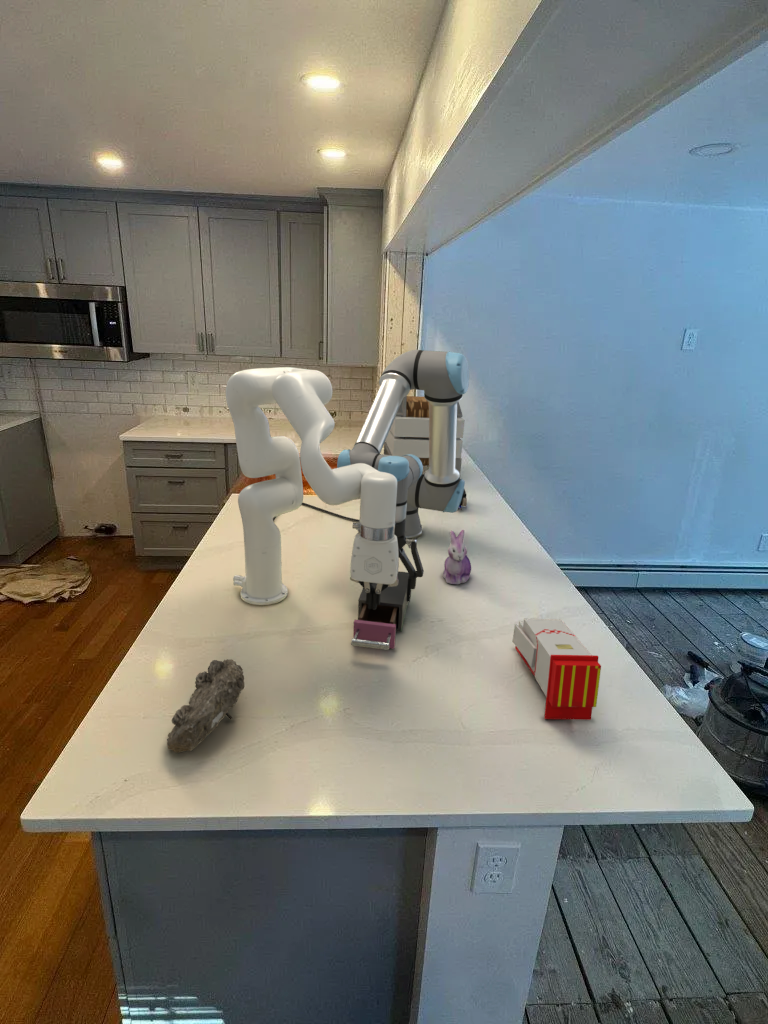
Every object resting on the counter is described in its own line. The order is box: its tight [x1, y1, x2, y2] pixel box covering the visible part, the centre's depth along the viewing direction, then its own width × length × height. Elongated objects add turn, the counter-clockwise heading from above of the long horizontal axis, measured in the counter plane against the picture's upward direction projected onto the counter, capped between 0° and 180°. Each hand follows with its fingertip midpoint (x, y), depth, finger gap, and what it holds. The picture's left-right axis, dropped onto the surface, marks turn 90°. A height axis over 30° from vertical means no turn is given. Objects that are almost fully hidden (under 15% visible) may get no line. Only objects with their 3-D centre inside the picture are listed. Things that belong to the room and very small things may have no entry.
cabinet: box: [357, 570, 409, 633], centre depth 146 cm, size 16×11×8 cm
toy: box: [512, 618, 602, 721], centre depth 123 cm, size 12×13×30 cm
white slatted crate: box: [383, 395, 465, 475], centre depth 268 cm, size 34×33×41 cm
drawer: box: [350, 603, 399, 651], centre depth 135 cm, size 21×10×6 cm, turn 171°
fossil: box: [166, 658, 245, 754], centre depth 106 cm, size 22×10×15 cm
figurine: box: [442, 529, 472, 585], centre depth 166 cm, size 9×10×15 cm
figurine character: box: [458, 488, 468, 511], centre depth 230 cm, size 7×8×15 cm
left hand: (372, 606), depth 127 cm, fingers closed
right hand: (386, 596), depth 149 cm, fingers closed on cabinet, 11 cm apart
